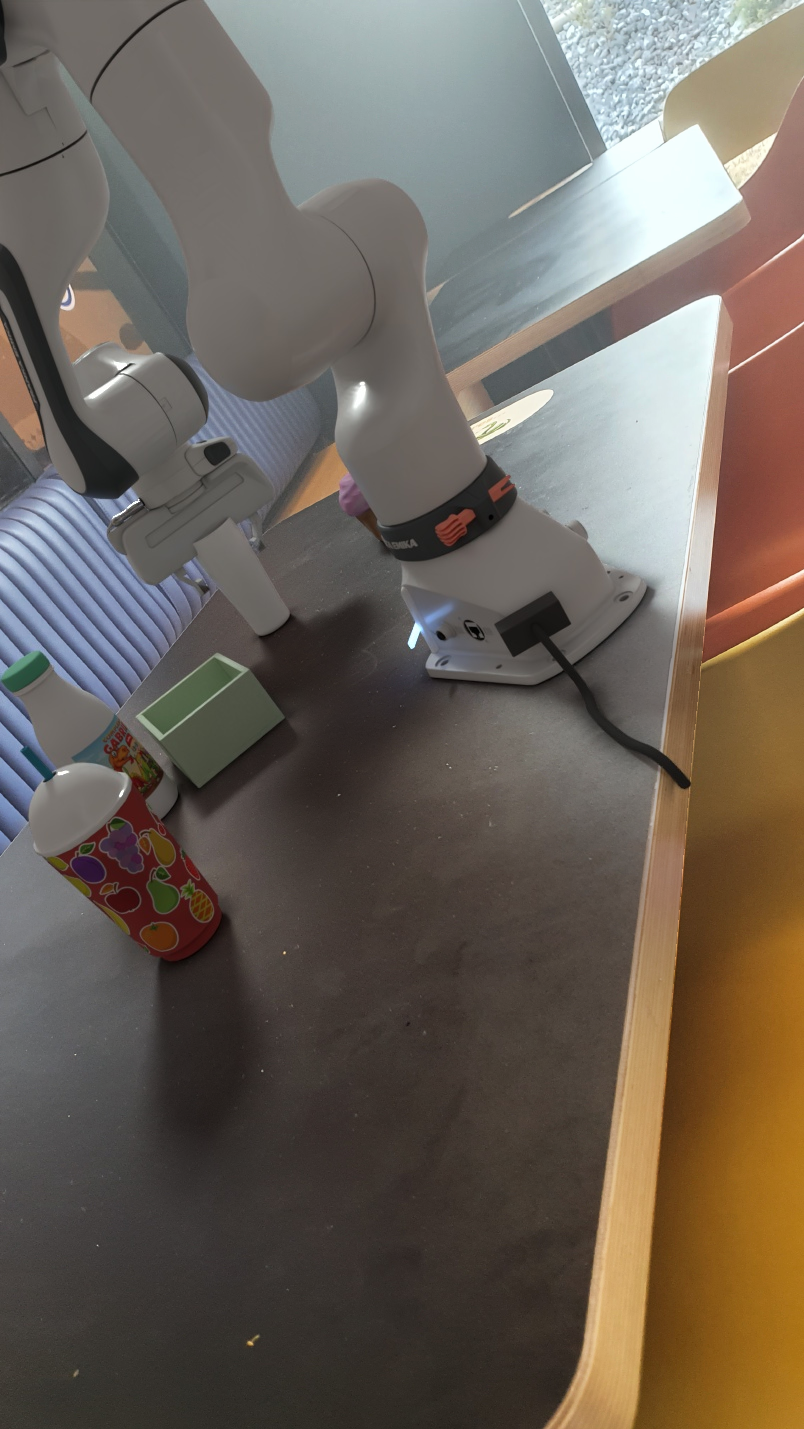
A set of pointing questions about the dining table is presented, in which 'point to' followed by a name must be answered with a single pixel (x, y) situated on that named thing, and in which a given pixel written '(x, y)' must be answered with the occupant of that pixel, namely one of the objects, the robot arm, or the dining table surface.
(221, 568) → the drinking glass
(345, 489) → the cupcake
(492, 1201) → the dining table surface
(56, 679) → the milk bottle
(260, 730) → the tub
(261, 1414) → the dining table surface
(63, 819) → the smoothie
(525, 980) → the dining table surface
